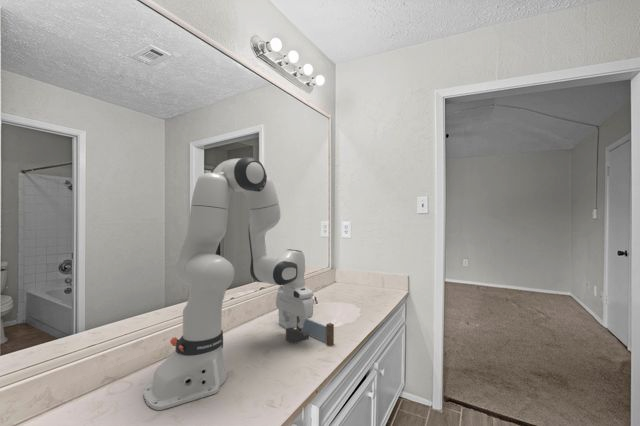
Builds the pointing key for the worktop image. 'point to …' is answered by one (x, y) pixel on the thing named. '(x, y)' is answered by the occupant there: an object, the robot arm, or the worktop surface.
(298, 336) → the doorstop wedge
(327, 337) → the door frame
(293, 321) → the skincare box
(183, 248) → the robot arm
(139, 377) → the worktop surface
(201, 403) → the worktop surface
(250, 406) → the worktop surface
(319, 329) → the door
